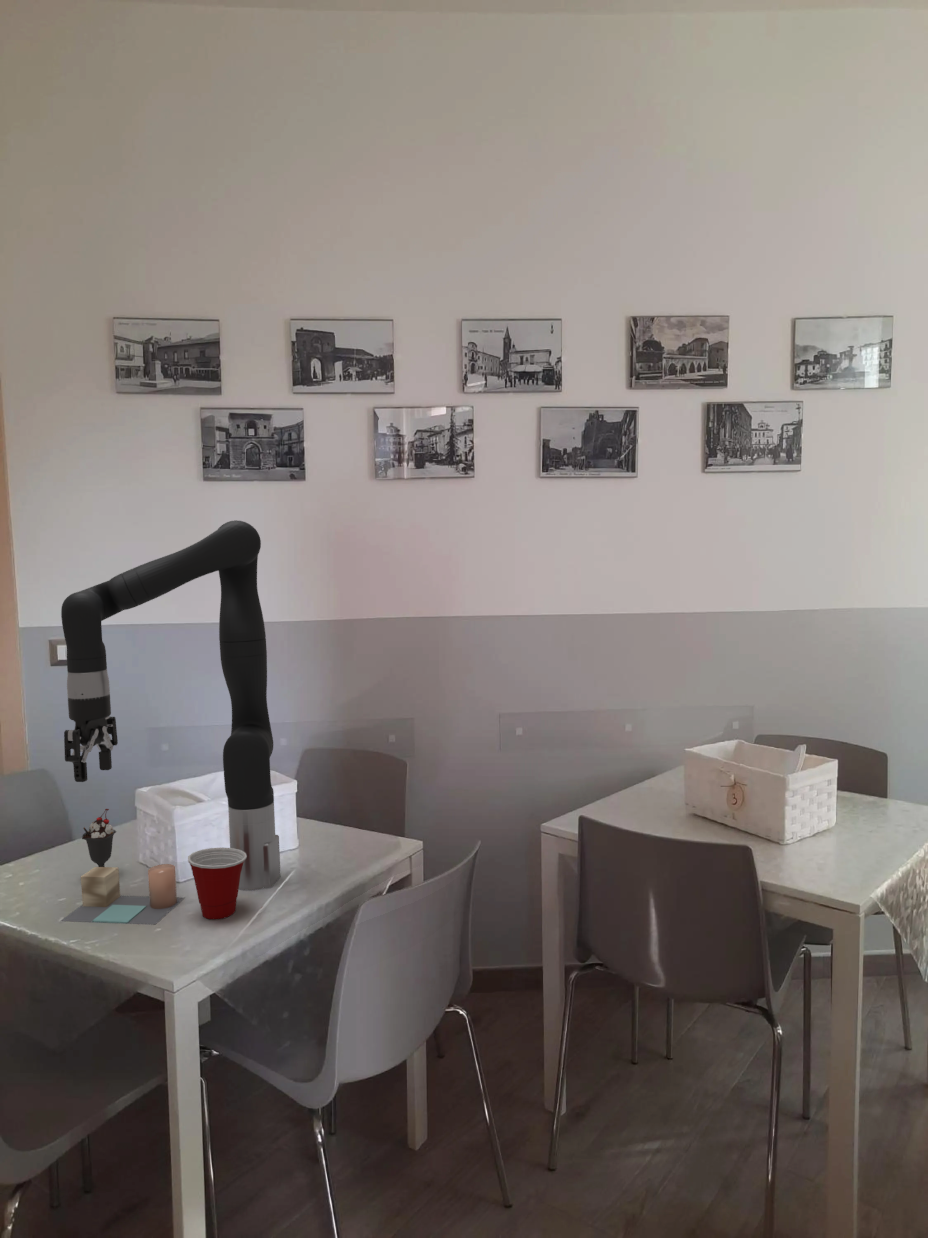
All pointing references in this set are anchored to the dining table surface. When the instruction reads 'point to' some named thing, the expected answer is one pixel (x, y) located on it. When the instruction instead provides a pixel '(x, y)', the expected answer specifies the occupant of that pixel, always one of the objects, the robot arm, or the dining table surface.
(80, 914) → the slate mat
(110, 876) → the beech block
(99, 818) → the sundae
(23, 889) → the dining table surface
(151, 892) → the terracotta cylinder
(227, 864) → the plastic cup
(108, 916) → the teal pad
